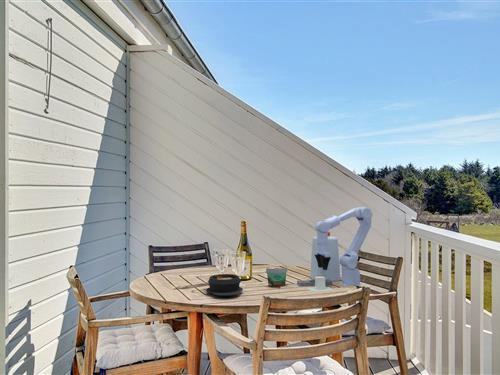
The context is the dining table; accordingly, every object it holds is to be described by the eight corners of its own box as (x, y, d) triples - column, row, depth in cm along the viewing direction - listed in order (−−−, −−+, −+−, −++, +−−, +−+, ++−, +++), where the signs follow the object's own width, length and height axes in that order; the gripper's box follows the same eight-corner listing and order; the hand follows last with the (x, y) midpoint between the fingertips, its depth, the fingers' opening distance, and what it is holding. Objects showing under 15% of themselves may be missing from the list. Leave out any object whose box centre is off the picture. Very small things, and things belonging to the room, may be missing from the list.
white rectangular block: (323, 288, 205) (323, 276, 205) (325, 289, 202) (325, 277, 202) (315, 288, 204) (315, 276, 205) (316, 289, 201) (316, 277, 202)
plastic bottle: (308, 278, 234) (307, 231, 235) (330, 276, 238) (330, 230, 239) (319, 283, 219) (318, 233, 220) (343, 281, 223) (342, 232, 224)
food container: (269, 288, 206) (269, 269, 207) (265, 286, 212) (265, 267, 213) (291, 287, 210) (290, 268, 210) (287, 284, 216) (286, 266, 216)
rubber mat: (328, 287, 208) (328, 286, 208) (334, 291, 200) (334, 290, 200) (307, 288, 206) (307, 287, 206) (311, 292, 198) (311, 291, 198)
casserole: (204, 288, 207) (204, 272, 208) (238, 287, 211) (238, 271, 211) (208, 300, 183) (208, 282, 183) (247, 298, 186) (247, 280, 187)
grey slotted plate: (328, 283, 217) (328, 278, 217) (332, 286, 211) (332, 280, 211) (297, 285, 215) (297, 279, 215) (300, 287, 209) (300, 281, 209)
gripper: (311, 242, 219) (311, 266, 219) (319, 245, 205) (319, 271, 204) (323, 242, 220) (323, 266, 220) (332, 245, 206) (332, 270, 205)
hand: (322, 268), depth 212 cm, fingers open, 7 cm apart
